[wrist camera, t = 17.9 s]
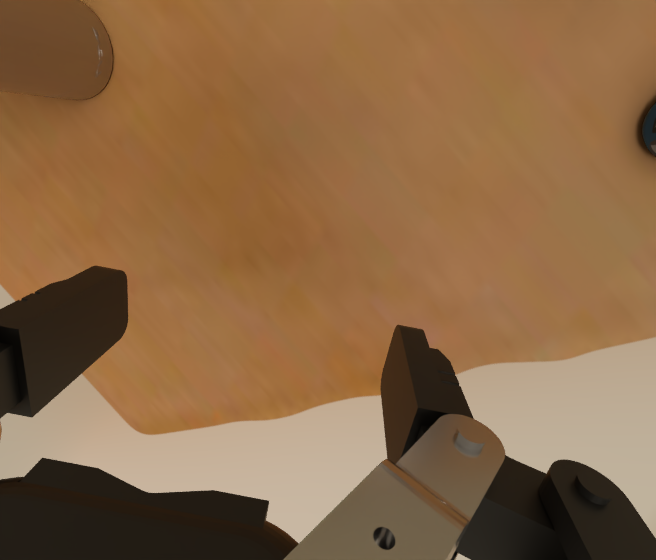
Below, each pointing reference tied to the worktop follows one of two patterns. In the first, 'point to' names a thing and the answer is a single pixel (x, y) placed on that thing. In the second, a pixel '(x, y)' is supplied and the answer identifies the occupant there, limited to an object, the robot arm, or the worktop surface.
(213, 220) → the worktop surface
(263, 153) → the worktop surface
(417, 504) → the robot arm
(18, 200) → the worktop surface
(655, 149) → the soda can
